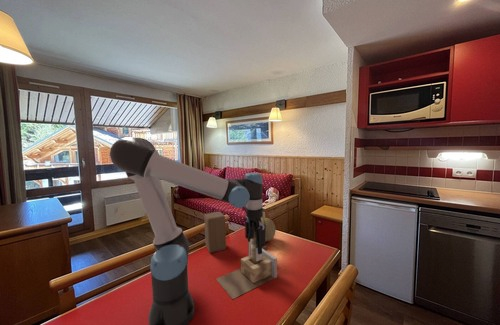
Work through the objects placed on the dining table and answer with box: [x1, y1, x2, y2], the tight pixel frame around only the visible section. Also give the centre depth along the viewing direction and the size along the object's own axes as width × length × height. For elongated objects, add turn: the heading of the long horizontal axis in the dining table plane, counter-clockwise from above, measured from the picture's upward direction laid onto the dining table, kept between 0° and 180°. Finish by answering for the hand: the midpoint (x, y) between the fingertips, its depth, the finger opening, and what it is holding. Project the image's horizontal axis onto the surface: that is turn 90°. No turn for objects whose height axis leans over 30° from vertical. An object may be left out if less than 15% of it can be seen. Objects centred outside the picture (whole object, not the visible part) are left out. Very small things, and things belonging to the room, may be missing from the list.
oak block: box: [240, 255, 272, 283], centre depth 95 cm, size 10×10×6 cm
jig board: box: [215, 267, 279, 300], centre depth 93 cm, size 24×15×1 cm, turn 124°
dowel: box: [250, 238, 259, 265], centre depth 94 cm, size 3×3×16 cm
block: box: [203, 211, 227, 254], centre depth 119 cm, size 10×10×20 cm
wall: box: [262, 249, 278, 279], centre depth 98 cm, size 2×15×9 cm, turn 34°
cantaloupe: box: [261, 216, 277, 243], centre depth 127 cm, size 15×15×15 cm
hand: (255, 257), depth 94 cm, fingers open, 5 cm apart
